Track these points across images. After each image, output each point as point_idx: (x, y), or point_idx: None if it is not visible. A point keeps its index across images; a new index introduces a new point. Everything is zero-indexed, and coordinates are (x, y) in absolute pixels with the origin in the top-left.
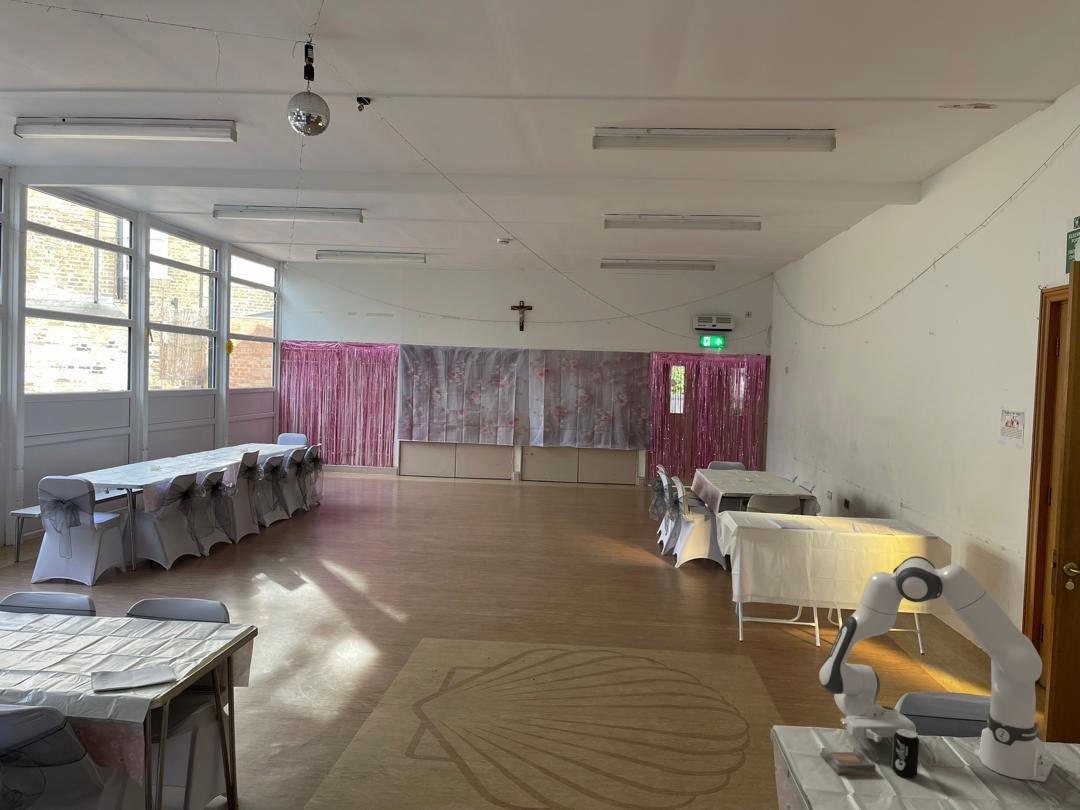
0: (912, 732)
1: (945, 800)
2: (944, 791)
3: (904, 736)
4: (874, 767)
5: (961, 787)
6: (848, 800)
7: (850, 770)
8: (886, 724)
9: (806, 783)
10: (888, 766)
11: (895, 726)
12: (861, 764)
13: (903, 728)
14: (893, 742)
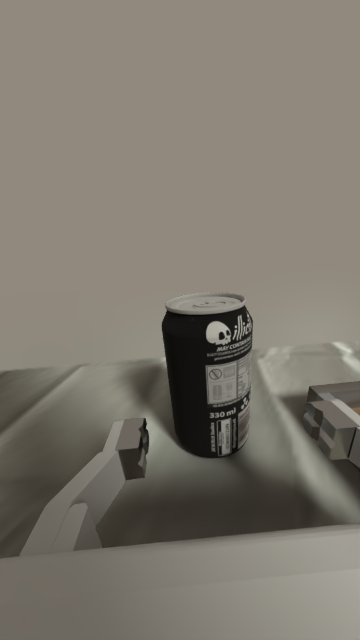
0: (176, 308)
1: None
2: (157, 374)
3: (224, 294)
4: (311, 392)
5: (108, 386)
6: (343, 343)
7: None
8: (266, 593)
9: None
10: (256, 466)
11: (146, 546)
12: (357, 385)
13: (200, 312)
14: (251, 348)
